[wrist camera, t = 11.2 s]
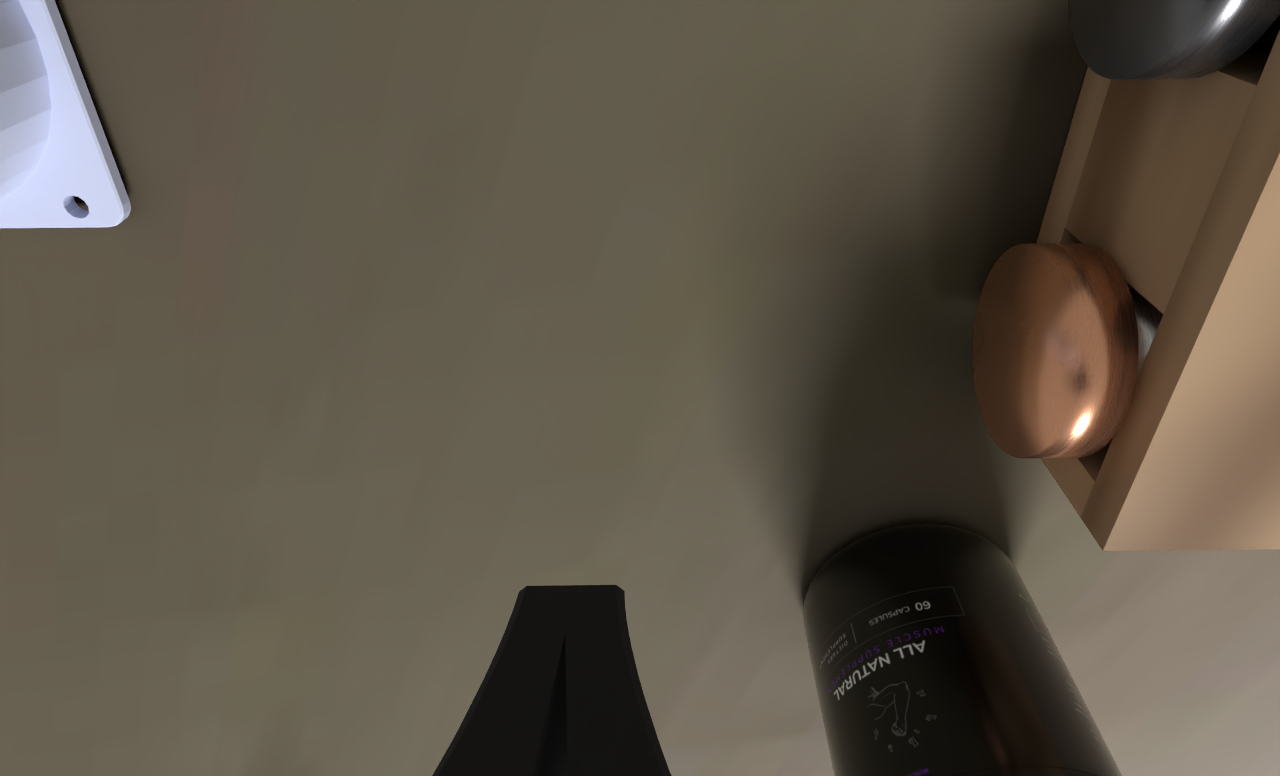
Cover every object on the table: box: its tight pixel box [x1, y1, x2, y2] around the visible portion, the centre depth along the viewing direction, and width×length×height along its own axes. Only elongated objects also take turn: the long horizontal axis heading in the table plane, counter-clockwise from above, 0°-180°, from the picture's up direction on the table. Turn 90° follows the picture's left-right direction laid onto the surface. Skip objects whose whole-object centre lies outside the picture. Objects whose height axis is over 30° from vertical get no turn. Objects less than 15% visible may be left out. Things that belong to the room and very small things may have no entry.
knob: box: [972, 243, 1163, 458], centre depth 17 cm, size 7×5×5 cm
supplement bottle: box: [803, 524, 1122, 776], centre depth 21 cm, size 7×7×12 cm
